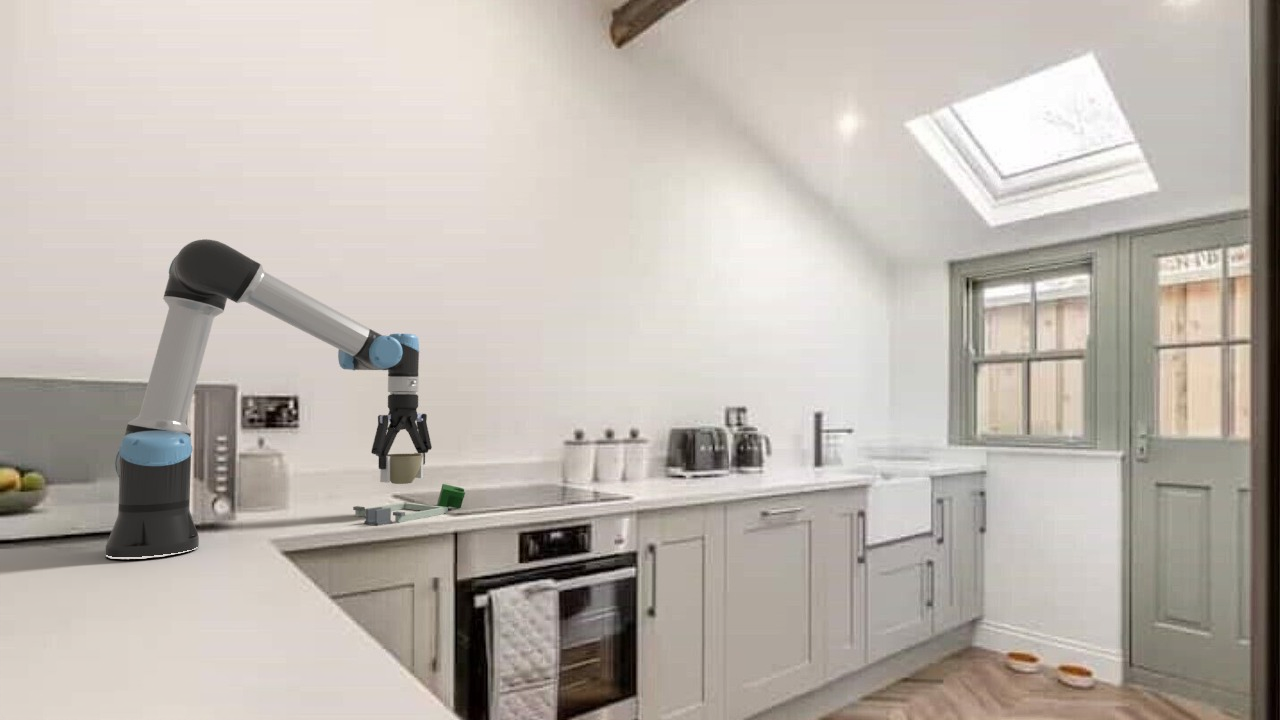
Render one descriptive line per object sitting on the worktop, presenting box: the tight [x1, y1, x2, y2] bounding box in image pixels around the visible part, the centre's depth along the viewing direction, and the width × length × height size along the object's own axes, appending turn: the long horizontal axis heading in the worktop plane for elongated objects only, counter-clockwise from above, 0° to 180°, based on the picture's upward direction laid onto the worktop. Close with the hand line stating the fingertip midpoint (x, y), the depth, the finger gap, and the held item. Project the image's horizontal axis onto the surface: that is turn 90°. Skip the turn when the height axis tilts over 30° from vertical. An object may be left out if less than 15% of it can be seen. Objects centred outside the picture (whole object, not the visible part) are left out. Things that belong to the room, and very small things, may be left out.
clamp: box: [436, 483, 466, 509], centre depth 196 cm, size 12×6×9 cm, turn 10°
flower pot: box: [387, 453, 423, 485], centre depth 184 cm, size 10×10×7 cm
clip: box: [363, 506, 393, 526], centre depth 172 cm, size 4×5×4 cm
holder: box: [352, 501, 449, 523], centre depth 184 cm, size 16×18×2 cm
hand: (402, 479), depth 184 cm, fingers closed on flower pot, 10 cm apart
